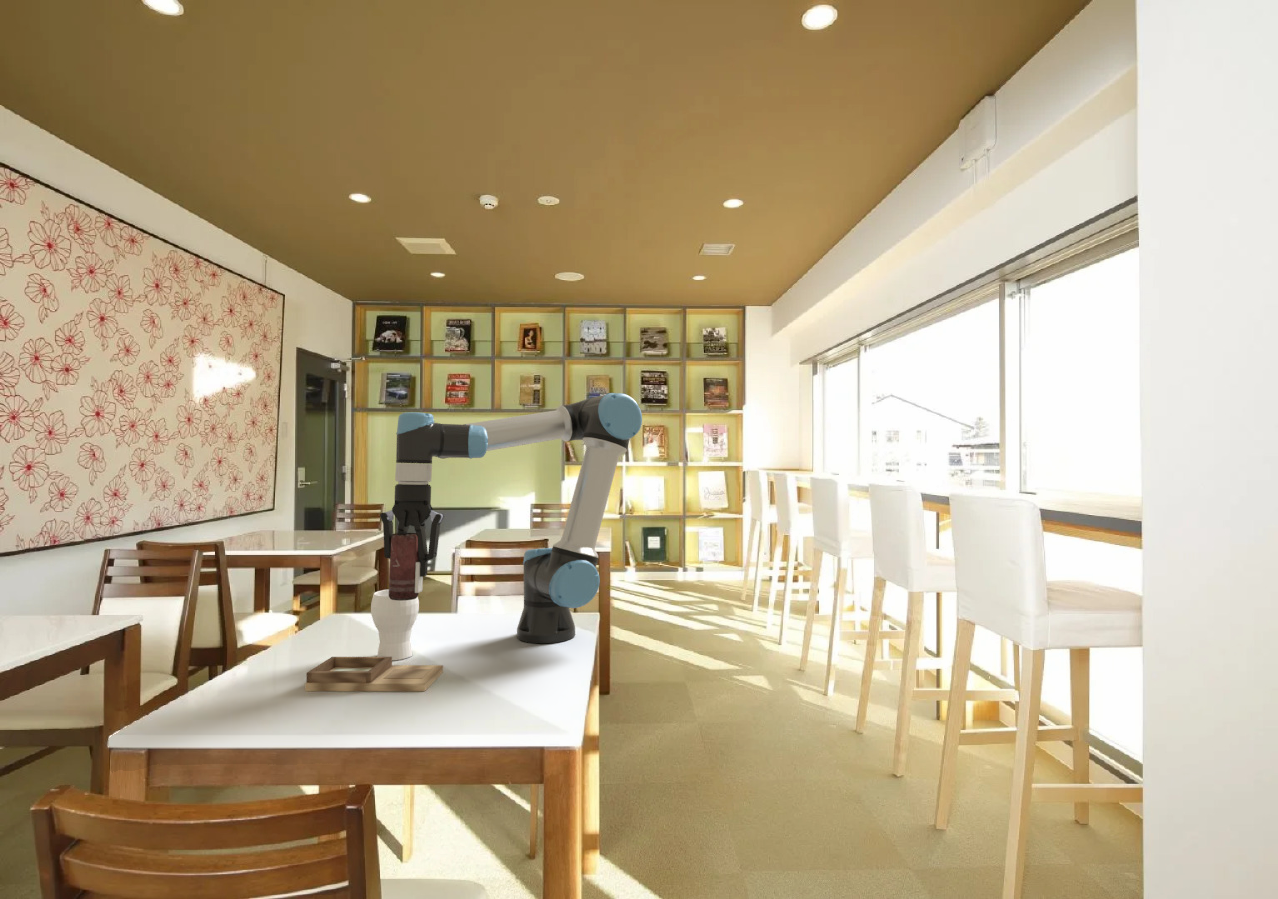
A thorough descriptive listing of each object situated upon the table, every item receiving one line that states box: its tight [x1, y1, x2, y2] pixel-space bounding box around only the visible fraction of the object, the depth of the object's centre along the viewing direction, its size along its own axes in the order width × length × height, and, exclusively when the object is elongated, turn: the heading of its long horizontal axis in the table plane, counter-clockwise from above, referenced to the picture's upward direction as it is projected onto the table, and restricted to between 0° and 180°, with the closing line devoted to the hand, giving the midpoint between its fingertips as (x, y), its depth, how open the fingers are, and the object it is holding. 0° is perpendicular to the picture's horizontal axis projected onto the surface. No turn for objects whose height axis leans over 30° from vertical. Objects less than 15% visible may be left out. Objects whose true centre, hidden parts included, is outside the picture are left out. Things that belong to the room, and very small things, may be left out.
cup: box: [370, 588, 420, 661], centre depth 158 cm, size 11×11×15 cm
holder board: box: [304, 656, 444, 692], centre depth 140 cm, size 24×12×4 cm, turn 89°
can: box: [388, 532, 419, 601], centre depth 146 cm, size 6×6×14 cm
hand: (409, 591), depth 146 cm, fingers open, 3 cm apart
